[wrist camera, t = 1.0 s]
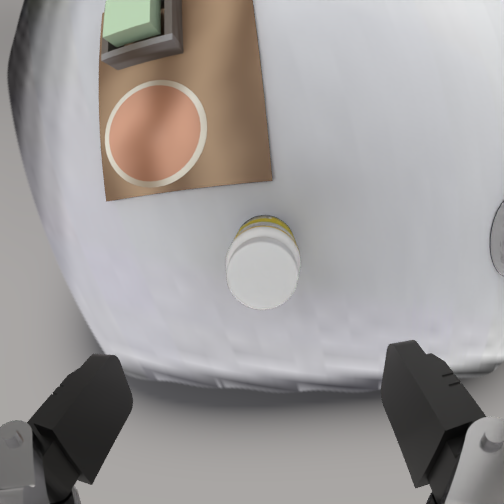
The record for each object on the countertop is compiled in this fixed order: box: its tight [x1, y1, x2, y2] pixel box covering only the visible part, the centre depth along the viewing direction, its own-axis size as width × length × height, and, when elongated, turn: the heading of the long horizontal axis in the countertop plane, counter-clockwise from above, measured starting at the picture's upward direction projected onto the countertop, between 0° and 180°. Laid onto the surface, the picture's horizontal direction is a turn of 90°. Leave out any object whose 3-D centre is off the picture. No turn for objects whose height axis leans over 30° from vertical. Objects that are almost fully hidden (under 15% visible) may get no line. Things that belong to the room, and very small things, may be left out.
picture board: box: [99, 0, 272, 202], centre depth 20 cm, size 14×19×4 cm
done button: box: [103, 0, 161, 47], centre depth 16 cm, size 4×4×2 cm
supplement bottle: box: [225, 215, 301, 310], centre depth 21 cm, size 5×5×8 cm
